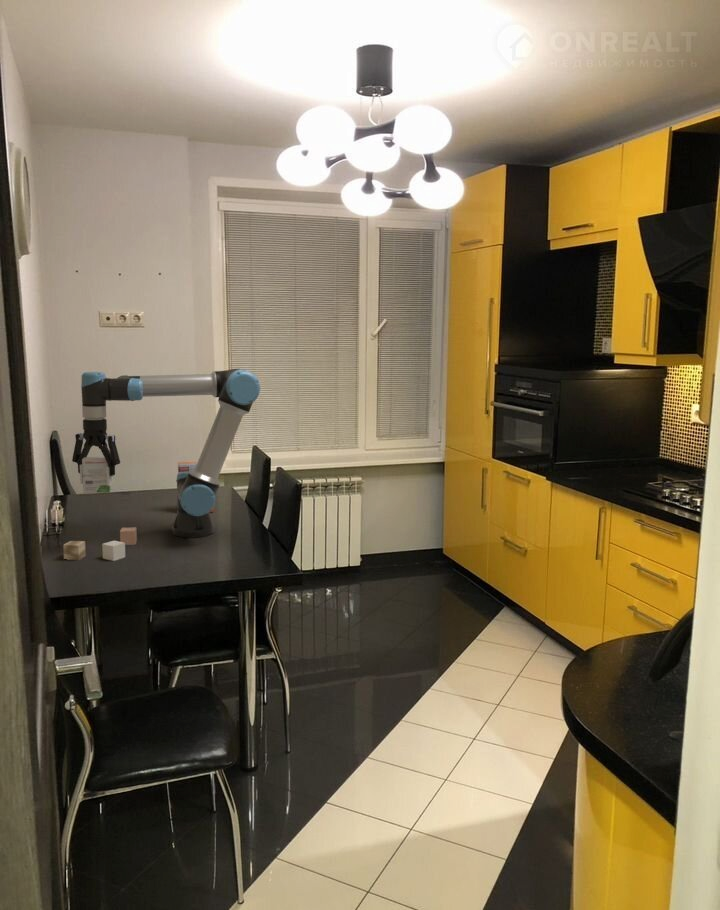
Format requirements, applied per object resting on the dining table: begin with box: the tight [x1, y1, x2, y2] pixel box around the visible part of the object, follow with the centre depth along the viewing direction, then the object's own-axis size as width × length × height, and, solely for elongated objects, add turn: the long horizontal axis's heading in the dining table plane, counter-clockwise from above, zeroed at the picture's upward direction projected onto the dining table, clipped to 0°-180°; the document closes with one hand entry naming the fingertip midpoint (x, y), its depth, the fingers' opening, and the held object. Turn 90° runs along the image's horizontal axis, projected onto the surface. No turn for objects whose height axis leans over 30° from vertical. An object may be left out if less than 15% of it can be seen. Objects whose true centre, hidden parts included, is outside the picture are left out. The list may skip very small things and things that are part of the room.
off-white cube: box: [101, 540, 126, 562], centre depth 242 cm, size 5×5×5 cm
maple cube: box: [62, 540, 87, 561], centre depth 241 cm, size 5×5×5 cm
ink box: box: [82, 456, 111, 494], centre depth 249 cm, size 8×5×12 cm, turn 105°
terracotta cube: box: [119, 526, 138, 546], centre depth 260 cm, size 5×5×5 cm
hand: (96, 483), depth 249 cm, fingers closed on ink box, 9 cm apart
